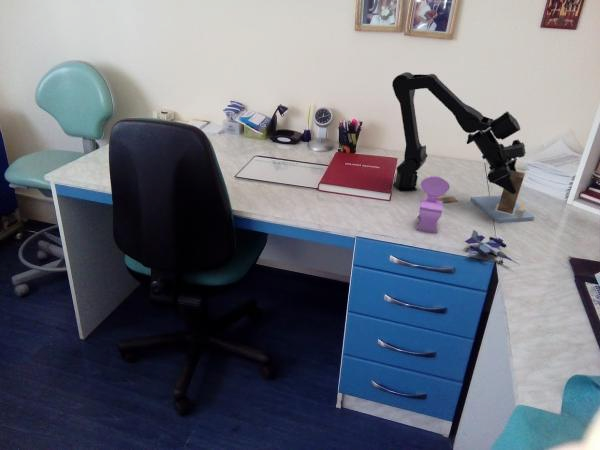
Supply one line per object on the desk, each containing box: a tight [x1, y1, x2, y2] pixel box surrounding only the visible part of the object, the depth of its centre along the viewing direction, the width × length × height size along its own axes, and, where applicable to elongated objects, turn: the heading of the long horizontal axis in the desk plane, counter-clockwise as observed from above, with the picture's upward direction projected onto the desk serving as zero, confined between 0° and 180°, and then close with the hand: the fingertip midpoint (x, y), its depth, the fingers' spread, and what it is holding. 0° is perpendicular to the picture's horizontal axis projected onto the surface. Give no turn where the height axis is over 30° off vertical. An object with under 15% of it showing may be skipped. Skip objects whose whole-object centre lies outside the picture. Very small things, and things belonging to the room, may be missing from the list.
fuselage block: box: [497, 170, 526, 214], centre depth 149 cm, size 5×5×12 cm
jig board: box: [470, 194, 535, 224], centre depth 154 cm, size 13×16×4 cm
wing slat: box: [437, 196, 459, 204], centre depth 159 cm, size 9×3×1 cm, turn 107°
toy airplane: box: [464, 229, 519, 265], centre depth 128 cm, size 13×14×4 cm
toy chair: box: [415, 175, 451, 234], centre depth 139 cm, size 8×9×15 cm
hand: (516, 188), depth 148 cm, fingers open, 9 cm apart
